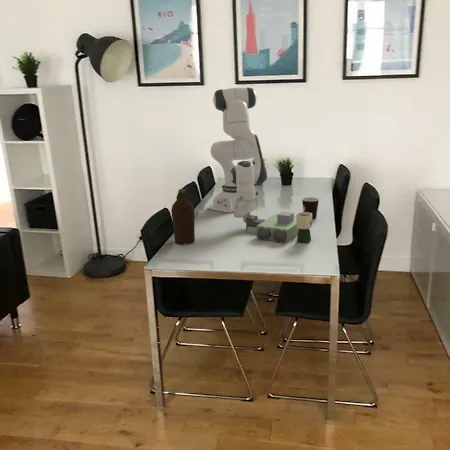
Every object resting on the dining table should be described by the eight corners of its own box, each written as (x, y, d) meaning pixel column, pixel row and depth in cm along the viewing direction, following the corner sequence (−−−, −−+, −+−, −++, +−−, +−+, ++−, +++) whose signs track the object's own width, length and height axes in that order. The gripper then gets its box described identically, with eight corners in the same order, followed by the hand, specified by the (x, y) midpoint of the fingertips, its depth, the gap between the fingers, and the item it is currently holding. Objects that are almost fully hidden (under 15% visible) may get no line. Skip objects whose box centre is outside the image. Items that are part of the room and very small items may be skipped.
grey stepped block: (246, 230, 255) (245, 217, 253) (250, 227, 259) (250, 215, 257) (260, 232, 251) (260, 219, 249) (265, 229, 255) (264, 216, 253)
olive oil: (200, 241, 241) (198, 189, 234) (183, 246, 234) (179, 193, 227) (186, 236, 249) (183, 186, 241) (168, 241, 242) (165, 190, 234)
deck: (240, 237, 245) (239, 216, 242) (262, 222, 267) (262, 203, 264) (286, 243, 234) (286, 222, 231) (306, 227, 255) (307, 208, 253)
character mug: (313, 244, 231) (314, 217, 227) (297, 245, 231) (297, 217, 227) (310, 237, 241) (310, 210, 237) (294, 237, 241) (295, 211, 237)
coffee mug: (318, 220, 267) (318, 201, 264) (301, 219, 269) (301, 201, 266) (318, 214, 278) (319, 196, 275) (302, 213, 280) (302, 195, 277)
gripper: (241, 200, 242) (242, 228, 246) (260, 190, 259) (260, 217, 263) (229, 199, 245) (230, 226, 249) (249, 189, 262) (249, 216, 266)
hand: (246, 221), depth 256 cm, fingers closed
